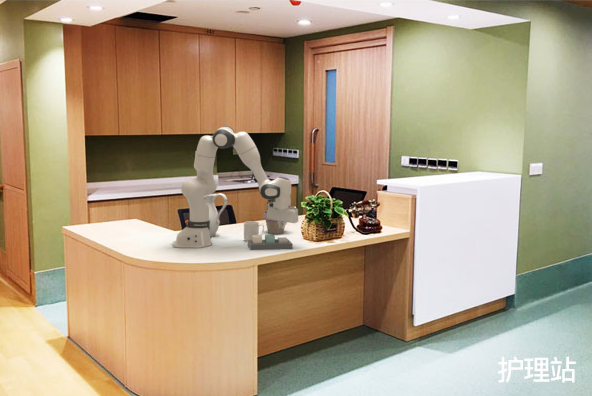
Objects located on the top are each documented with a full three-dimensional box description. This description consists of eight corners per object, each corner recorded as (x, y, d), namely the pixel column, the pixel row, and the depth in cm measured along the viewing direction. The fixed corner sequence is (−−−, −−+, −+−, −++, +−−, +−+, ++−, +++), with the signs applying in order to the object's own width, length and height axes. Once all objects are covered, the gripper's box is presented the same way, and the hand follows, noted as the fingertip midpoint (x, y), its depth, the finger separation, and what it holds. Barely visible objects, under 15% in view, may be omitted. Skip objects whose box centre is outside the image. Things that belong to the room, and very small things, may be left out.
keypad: (250, 250, 335) (250, 244, 334) (247, 245, 347) (247, 239, 347) (292, 248, 340) (292, 243, 340) (287, 243, 353) (287, 238, 352)
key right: (279, 246, 342) (279, 239, 342) (277, 244, 347) (277, 237, 347) (287, 245, 343) (287, 239, 343) (285, 244, 348) (285, 237, 348)
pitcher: (186, 236, 368) (186, 191, 364) (202, 231, 383) (202, 188, 379) (218, 240, 357) (218, 194, 353) (233, 235, 372) (233, 191, 368)
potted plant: (291, 230, 394) (292, 192, 391) (288, 236, 375) (288, 197, 371) (264, 229, 396) (265, 192, 392) (259, 235, 377) (260, 196, 373)
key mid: (266, 243, 340) (266, 236, 340) (264, 241, 345) (264, 234, 345) (274, 243, 342) (275, 236, 341) (273, 241, 346) (273, 234, 346)
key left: (253, 243, 339) (253, 236, 338) (252, 241, 344) (252, 235, 343) (262, 243, 340) (262, 236, 339) (260, 241, 345) (260, 234, 344)
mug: (244, 242, 355) (244, 223, 353) (243, 239, 364) (243, 221, 362) (264, 241, 357) (264, 223, 355) (262, 238, 366) (263, 221, 364)
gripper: (301, 206, 339) (299, 230, 342) (271, 202, 350) (270, 225, 353) (295, 208, 334) (293, 232, 336) (265, 203, 345) (264, 226, 347)
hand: (281, 228), depth 345 cm, fingers closed
